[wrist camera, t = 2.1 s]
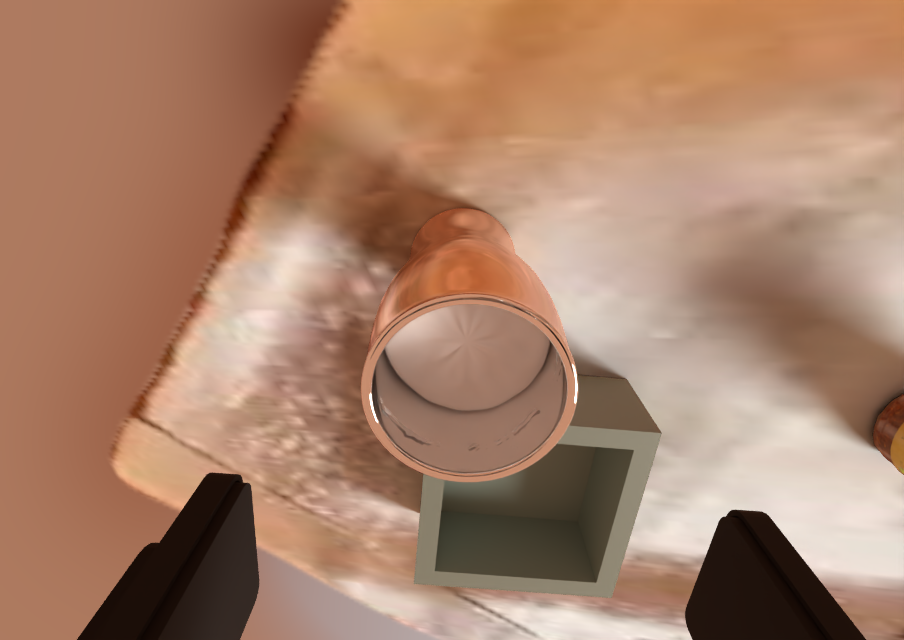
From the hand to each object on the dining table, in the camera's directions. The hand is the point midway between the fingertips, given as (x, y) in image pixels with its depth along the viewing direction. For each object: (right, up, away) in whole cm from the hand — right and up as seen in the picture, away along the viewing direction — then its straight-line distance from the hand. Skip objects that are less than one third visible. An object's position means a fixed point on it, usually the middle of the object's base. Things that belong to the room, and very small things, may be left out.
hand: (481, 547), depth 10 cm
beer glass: (0, +8, +19) cm, 21 cm away
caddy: (+4, -4, +24) cm, 25 cm away
